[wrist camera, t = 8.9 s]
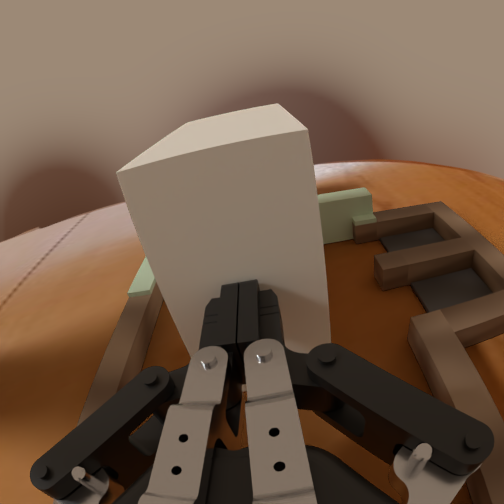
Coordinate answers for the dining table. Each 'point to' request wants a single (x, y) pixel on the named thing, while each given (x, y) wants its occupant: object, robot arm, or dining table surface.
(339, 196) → the green end stop
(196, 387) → the robot arm
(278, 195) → the white rectangular box
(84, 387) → the dining table surface
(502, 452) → the trap lane
